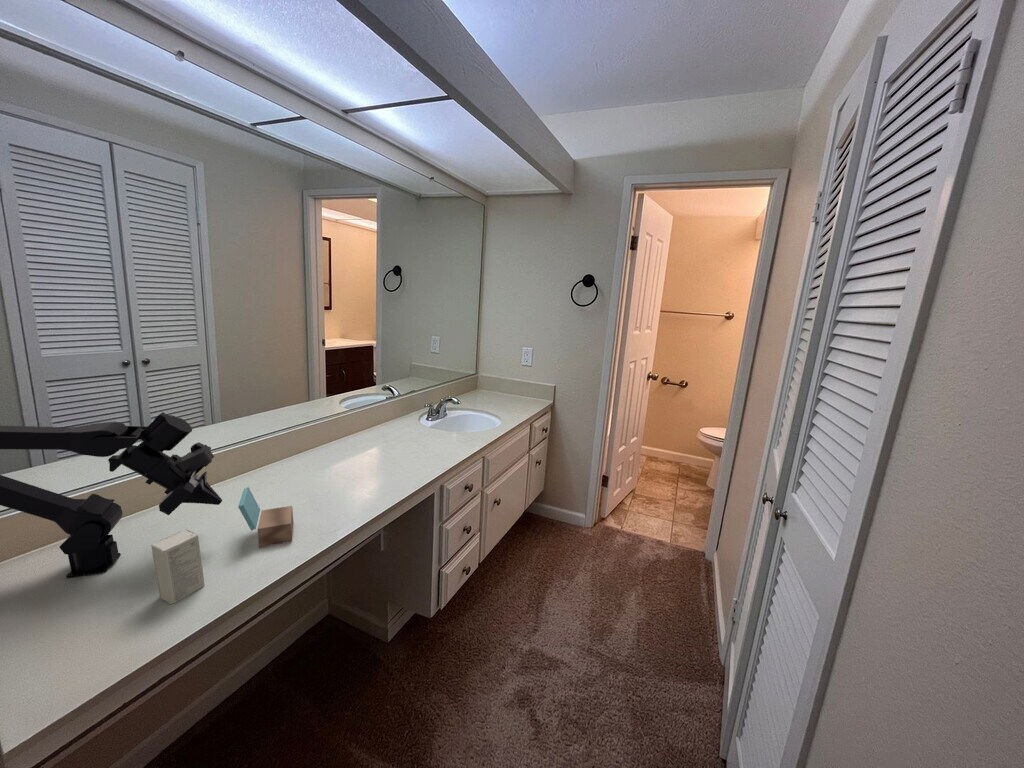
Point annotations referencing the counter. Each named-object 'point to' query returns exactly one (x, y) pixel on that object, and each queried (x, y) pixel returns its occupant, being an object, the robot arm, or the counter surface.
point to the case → (275, 526)
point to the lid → (249, 508)
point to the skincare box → (178, 565)
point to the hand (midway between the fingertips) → (220, 502)
